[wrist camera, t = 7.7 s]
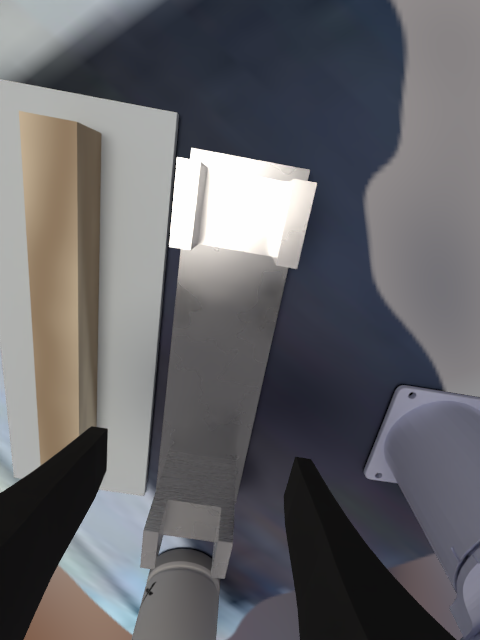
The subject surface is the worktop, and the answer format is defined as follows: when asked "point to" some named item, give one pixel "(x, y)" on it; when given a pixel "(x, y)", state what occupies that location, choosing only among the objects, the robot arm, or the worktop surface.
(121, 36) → the worktop surface
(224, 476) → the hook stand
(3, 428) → the worktop surface
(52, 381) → the rail
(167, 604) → the travel mug
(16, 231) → the mat
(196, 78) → the worktop surface
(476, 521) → the robot arm
